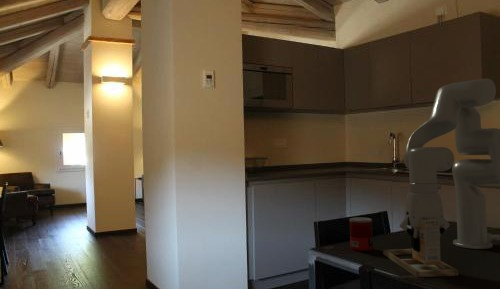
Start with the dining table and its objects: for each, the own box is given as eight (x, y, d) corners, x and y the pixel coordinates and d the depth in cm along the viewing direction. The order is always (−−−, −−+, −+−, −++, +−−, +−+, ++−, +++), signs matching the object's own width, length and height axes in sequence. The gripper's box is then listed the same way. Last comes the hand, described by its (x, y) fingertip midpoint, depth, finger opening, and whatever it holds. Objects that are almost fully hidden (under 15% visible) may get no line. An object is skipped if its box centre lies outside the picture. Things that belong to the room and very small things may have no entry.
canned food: (374, 252, 139) (373, 220, 139) (350, 251, 140) (349, 220, 140) (372, 247, 146) (371, 217, 146) (349, 246, 148) (348, 217, 148)
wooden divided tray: (417, 253, 136) (417, 248, 136) (458, 275, 111) (458, 270, 111) (383, 254, 135) (383, 249, 135) (416, 277, 110) (416, 271, 110)
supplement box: (411, 258, 121) (409, 215, 121) (426, 257, 121) (424, 214, 122) (425, 265, 113) (423, 219, 113) (441, 264, 113) (439, 219, 113)
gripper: (444, 187, 122) (447, 246, 121) (390, 188, 121) (392, 248, 121) (458, 189, 114) (460, 252, 114) (400, 190, 114) (402, 254, 113)
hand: (425, 249), depth 117 cm, fingers closed on supplement box, 5 cm apart
